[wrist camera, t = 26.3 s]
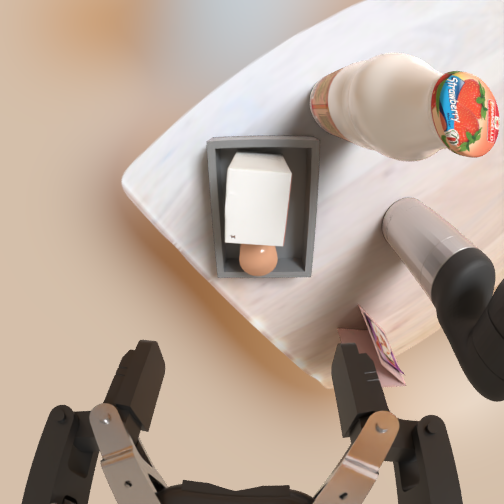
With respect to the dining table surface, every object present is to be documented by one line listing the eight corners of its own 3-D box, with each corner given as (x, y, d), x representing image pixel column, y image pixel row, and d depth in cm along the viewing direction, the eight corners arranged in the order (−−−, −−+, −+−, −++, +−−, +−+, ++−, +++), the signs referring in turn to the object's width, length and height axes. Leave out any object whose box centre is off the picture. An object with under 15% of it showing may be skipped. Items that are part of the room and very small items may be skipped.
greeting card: (387, 329, 54) (410, 383, 41) (359, 347, 57) (376, 402, 44) (361, 301, 50) (385, 360, 37) (331, 323, 53) (346, 384, 40)
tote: (312, 136, 37) (319, 140, 32) (306, 260, 46) (310, 277, 42) (213, 137, 37) (206, 141, 33) (221, 260, 47) (217, 277, 42)
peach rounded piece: (252, 217, 42) (252, 235, 36) (279, 234, 43) (285, 254, 37) (234, 243, 44) (232, 264, 37) (261, 258, 45) (263, 282, 39)
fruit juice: (306, 72, 32) (395, 11, 8) (369, 76, 32) (517, 61, 7) (309, 136, 37) (400, 195, 12) (371, 137, 36) (512, 201, 12)
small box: (277, 206, 41) (283, 248, 30) (233, 203, 41) (223, 244, 30) (282, 152, 37) (293, 172, 26) (236, 148, 37) (225, 167, 26)
